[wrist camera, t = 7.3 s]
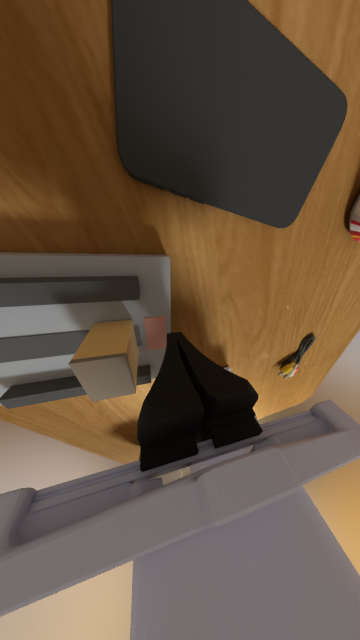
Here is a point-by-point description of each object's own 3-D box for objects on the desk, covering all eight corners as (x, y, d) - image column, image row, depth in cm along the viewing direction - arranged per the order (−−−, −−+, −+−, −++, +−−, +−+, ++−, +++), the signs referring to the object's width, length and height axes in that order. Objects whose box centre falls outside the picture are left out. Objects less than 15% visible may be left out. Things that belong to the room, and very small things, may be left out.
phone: (290, 231, 12) (117, 172, 8) (282, 232, 13) (119, 177, 9) (355, 100, 9) (106, -140, 4) (340, 111, 9) (111, -88, 5)
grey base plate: (166, 254, 11) (170, 257, 9) (169, 363, 18) (171, 375, 17) (-137, 249, 8) (-222, 252, 6) (15, 387, 15) (-3, 406, 13)
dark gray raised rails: (137, 275, 10) (136, 280, 9) (150, 372, 16) (151, 382, 14) (-107, 279, 7) (-157, 287, 6) (20, 393, 13) (7, 408, 12)
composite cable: (306, 332, 23) (322, 341, 21) (320, 336, 24) (336, 345, 22) (270, 369, 27) (280, 380, 25) (284, 371, 29) (295, 381, 26)
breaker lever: (132, 319, 11) (125, 356, 8) (138, 352, 13) (135, 393, 10) (94, 322, 11) (68, 364, 7) (107, 356, 13) (91, 401, 9)
